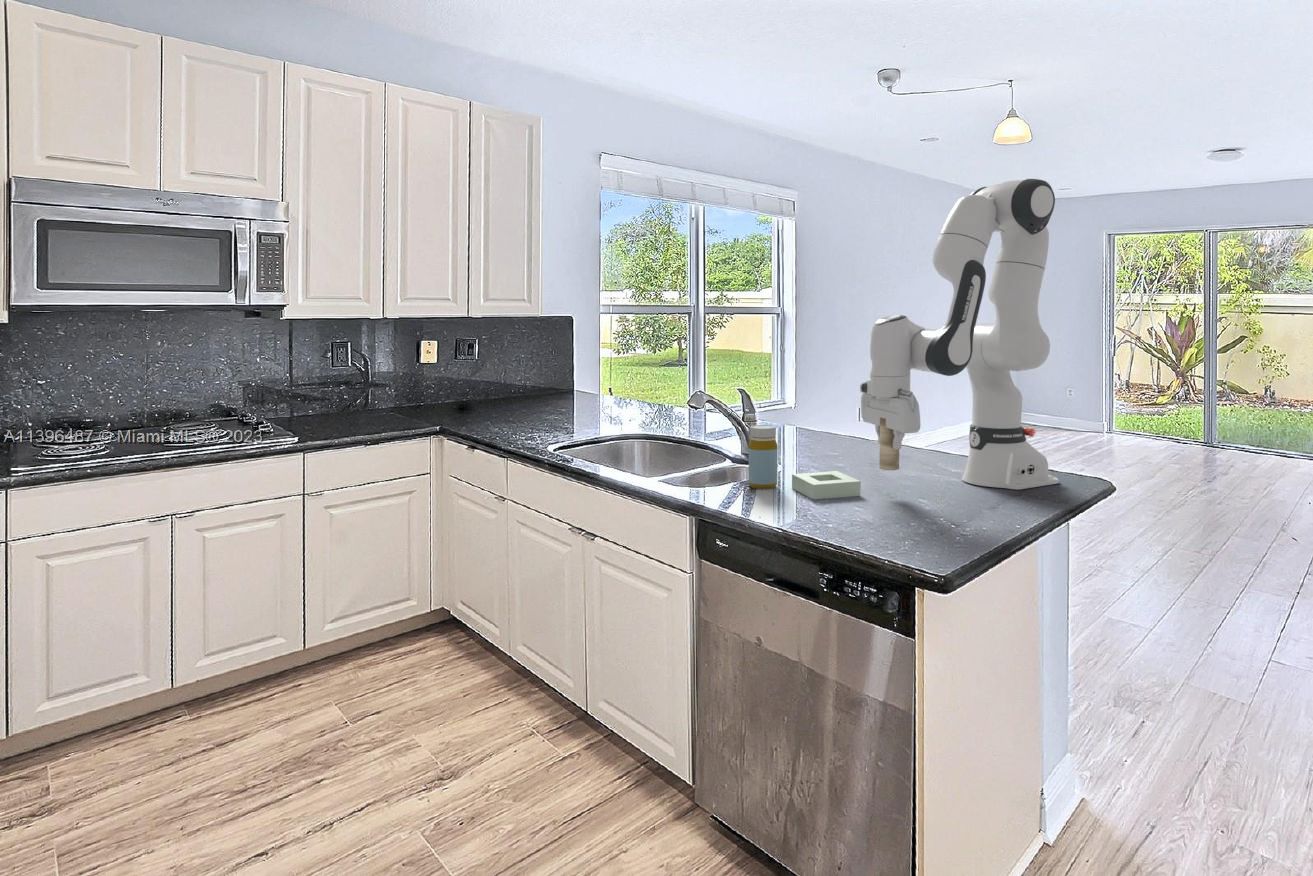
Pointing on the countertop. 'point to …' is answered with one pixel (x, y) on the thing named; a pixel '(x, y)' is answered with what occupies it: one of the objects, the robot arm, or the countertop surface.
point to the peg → (887, 448)
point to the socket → (826, 485)
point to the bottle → (763, 457)
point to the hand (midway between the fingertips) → (889, 446)
